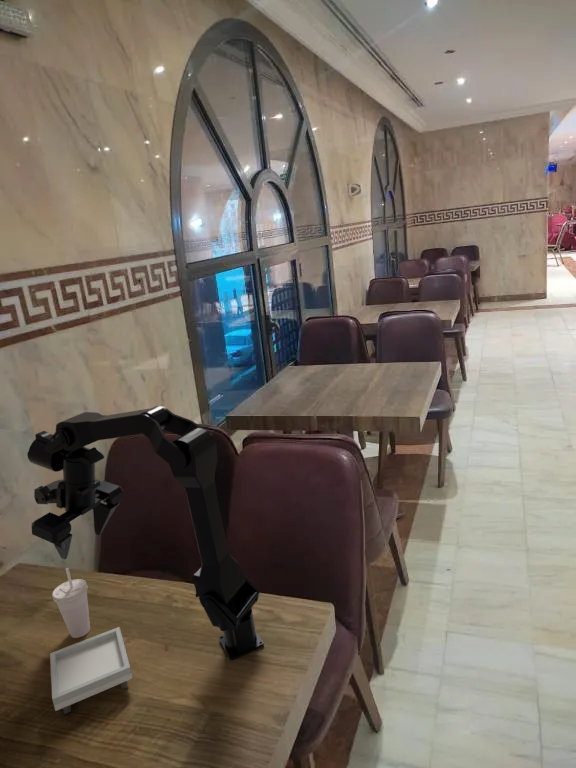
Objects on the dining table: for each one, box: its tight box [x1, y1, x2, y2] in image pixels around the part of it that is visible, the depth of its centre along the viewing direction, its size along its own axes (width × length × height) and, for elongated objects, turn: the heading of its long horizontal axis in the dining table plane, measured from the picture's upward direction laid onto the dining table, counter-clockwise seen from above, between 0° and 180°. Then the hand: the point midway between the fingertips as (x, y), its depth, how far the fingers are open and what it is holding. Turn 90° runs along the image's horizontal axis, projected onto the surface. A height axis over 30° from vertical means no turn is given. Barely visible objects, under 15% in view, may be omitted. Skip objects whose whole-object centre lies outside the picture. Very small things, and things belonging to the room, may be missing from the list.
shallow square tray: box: [49, 626, 133, 715], centre depth 92 cm, size 12×12×4 cm
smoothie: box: [52, 567, 91, 639], centre depth 105 cm, size 6×6×14 cm
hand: (81, 546), depth 108 cm, fingers open, 9 cm apart
